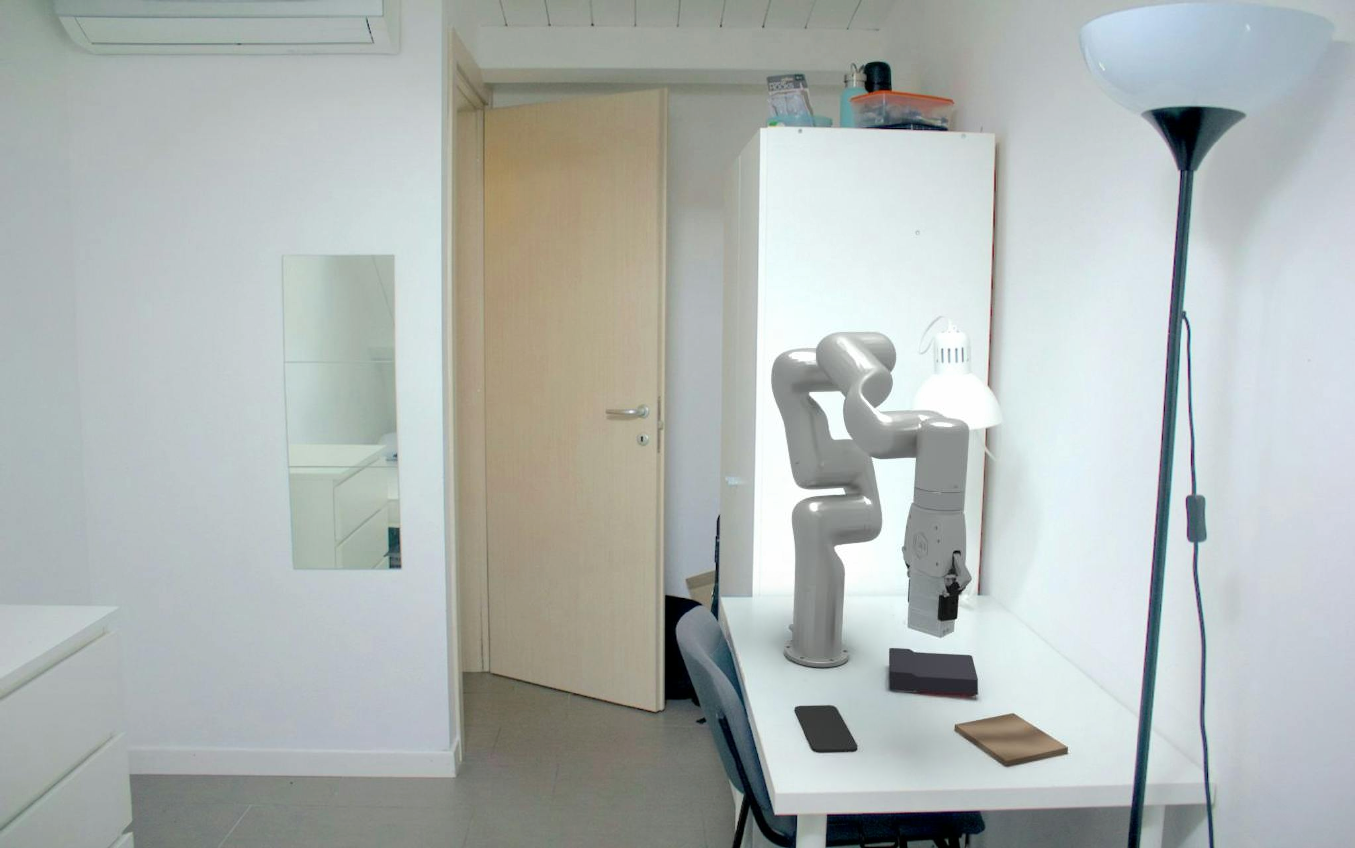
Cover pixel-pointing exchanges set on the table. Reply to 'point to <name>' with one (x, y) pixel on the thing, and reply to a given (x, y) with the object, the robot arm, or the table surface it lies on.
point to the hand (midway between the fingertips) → (931, 610)
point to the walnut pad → (1010, 739)
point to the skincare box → (926, 604)
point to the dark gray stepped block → (932, 673)
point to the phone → (825, 729)
